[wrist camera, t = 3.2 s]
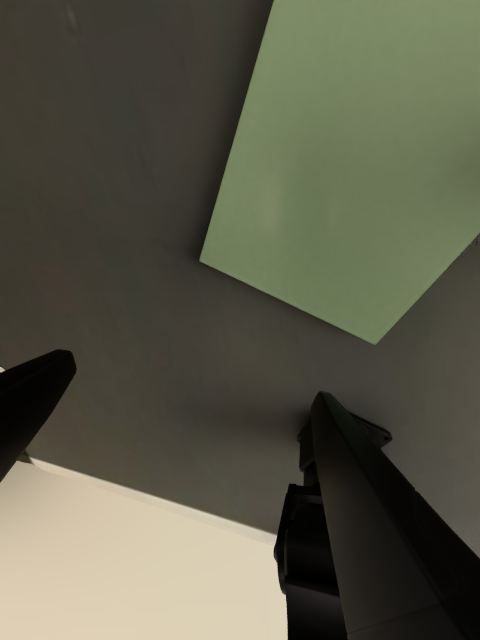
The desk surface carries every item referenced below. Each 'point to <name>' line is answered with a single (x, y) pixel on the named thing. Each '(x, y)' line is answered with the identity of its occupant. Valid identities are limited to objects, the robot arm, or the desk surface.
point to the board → (354, 158)
